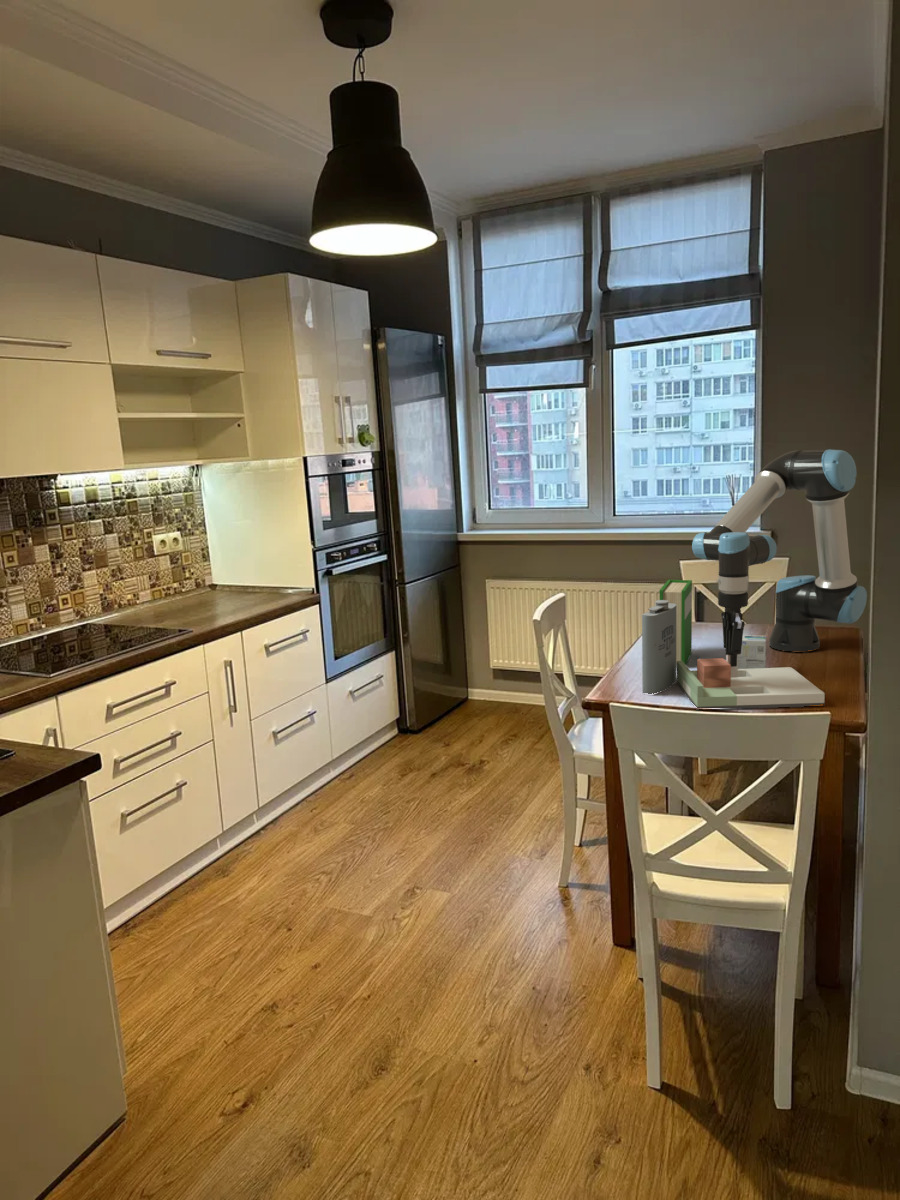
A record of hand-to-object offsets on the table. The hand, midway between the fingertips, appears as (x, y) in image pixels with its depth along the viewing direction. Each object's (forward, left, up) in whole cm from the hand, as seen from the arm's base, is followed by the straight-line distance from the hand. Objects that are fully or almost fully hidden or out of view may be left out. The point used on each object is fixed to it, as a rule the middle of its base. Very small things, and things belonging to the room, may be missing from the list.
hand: (731, 676), depth 221 cm
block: (+5, +1, -2) cm, 5 cm away
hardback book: (+7, -36, -5) cm, 37 cm away
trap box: (-4, 0, -5) cm, 6 cm away
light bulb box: (-10, -20, -5) cm, 23 cm away
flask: (+17, -9, -5) cm, 20 cm away
